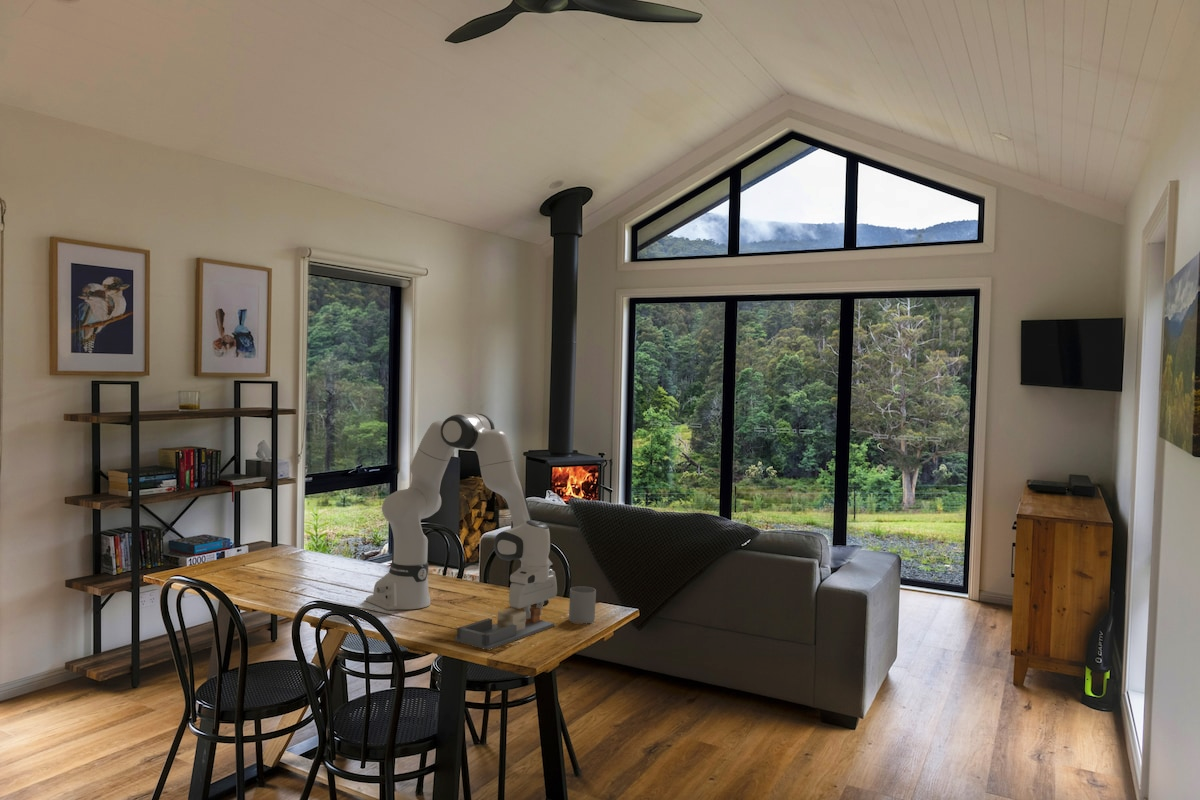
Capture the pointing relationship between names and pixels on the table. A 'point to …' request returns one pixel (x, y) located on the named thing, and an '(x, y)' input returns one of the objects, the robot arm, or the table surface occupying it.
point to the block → (517, 618)
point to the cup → (582, 604)
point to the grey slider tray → (496, 633)
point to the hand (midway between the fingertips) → (533, 616)
